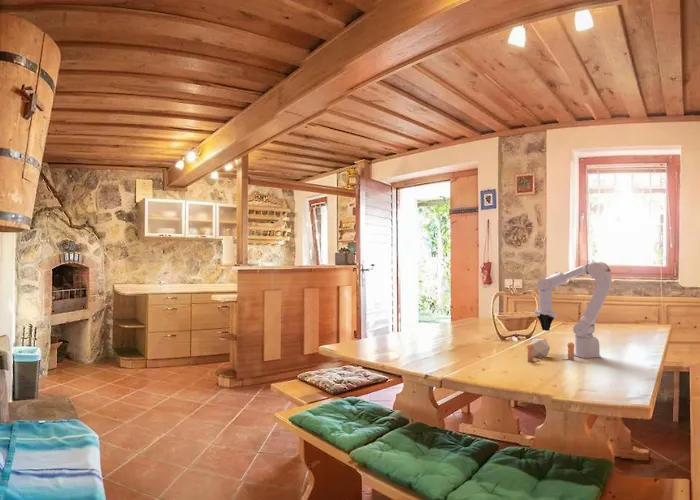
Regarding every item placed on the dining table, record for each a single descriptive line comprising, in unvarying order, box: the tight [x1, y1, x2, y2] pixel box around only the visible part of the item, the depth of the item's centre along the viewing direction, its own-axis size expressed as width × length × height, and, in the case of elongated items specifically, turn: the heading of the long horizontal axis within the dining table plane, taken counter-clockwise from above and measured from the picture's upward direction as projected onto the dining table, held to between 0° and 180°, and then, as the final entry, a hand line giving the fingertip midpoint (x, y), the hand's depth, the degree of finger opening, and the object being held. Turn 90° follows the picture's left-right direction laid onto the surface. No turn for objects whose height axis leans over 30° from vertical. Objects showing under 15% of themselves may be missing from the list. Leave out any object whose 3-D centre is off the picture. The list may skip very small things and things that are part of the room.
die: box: [530, 338, 551, 359], centre depth 195 cm, size 8×9×10 cm
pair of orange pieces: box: [526, 342, 575, 363], centre depth 187 cm, size 23×3×8 cm, turn 101°
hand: (545, 330), depth 209 cm, fingers closed
